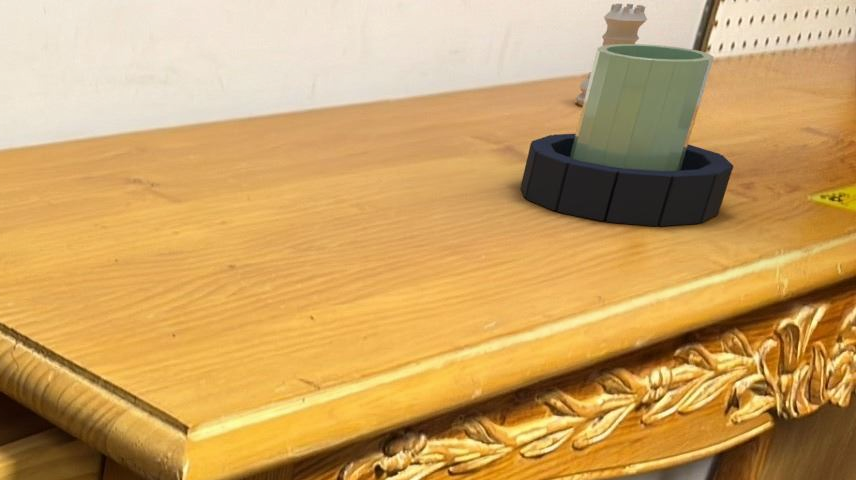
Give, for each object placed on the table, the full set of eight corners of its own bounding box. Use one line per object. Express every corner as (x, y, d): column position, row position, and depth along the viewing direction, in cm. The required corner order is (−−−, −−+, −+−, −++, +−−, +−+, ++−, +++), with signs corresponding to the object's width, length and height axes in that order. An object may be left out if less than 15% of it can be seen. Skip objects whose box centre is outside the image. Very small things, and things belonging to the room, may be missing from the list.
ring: (693, 186, 81) (707, 140, 80) (735, 233, 72) (752, 182, 70) (514, 172, 84) (524, 128, 82) (531, 216, 74) (543, 166, 73)
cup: (657, 192, 80) (700, 47, 75) (677, 217, 74) (724, 63, 70) (555, 184, 81) (591, 41, 77) (567, 208, 76) (606, 57, 72)
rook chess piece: (621, 113, 102) (649, 10, 98) (566, 105, 104) (591, 5, 100) (638, 105, 105) (665, 5, 101) (584, 98, 107) (609, 0, 103)
